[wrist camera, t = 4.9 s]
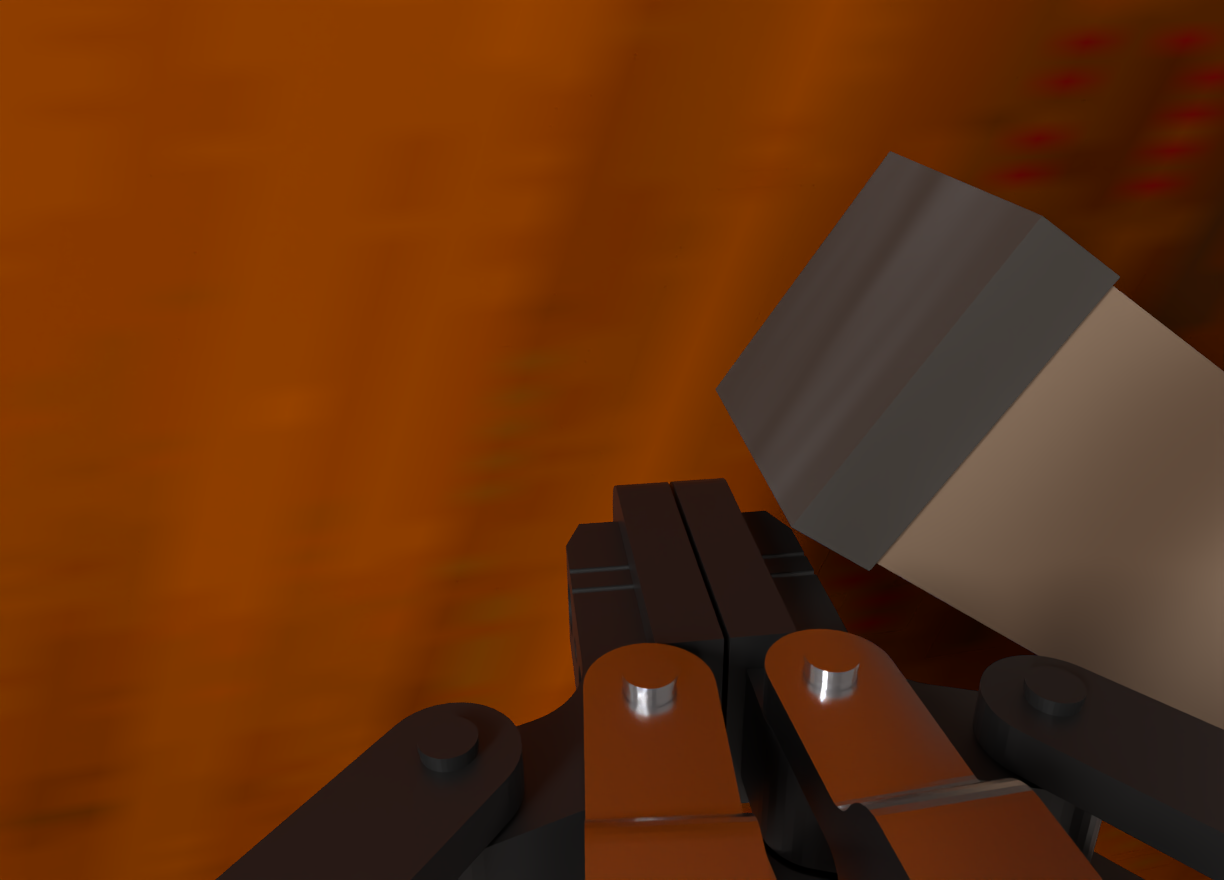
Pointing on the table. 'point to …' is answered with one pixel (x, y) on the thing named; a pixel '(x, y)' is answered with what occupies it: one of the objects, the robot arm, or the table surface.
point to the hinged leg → (999, 433)
